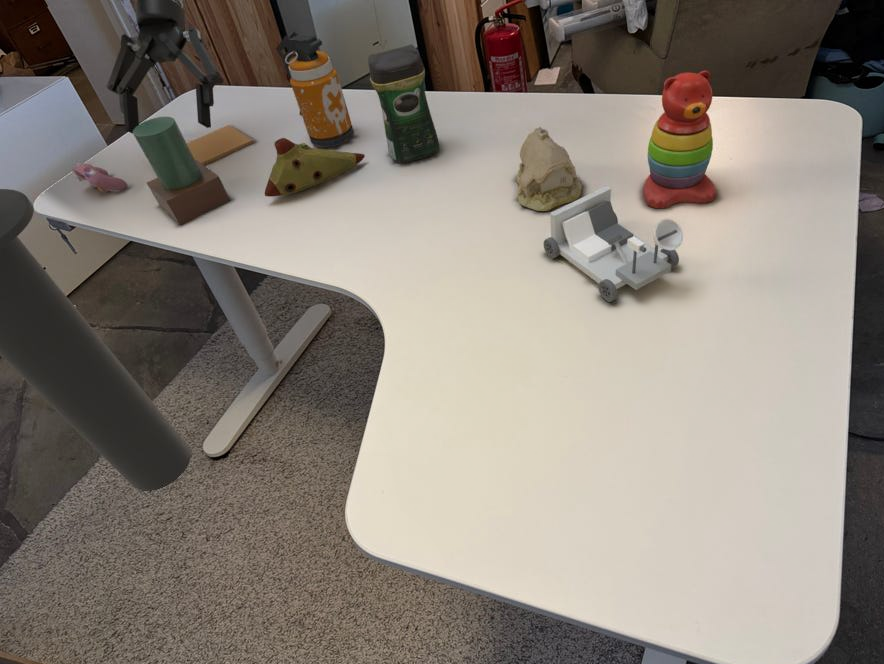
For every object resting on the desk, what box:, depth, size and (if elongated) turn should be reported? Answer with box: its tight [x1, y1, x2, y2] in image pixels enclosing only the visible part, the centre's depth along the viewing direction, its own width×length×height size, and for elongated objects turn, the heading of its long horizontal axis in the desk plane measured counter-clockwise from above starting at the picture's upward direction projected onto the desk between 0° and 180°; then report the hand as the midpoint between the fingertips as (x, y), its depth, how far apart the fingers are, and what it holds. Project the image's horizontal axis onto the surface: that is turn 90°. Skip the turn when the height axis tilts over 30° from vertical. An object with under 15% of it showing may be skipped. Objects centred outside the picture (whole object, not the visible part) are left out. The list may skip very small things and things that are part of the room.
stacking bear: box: [642, 70, 717, 209], centre depth 90 cm, size 11×10×18 cm
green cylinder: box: [132, 116, 201, 190], centre depth 105 cm, size 7×7×10 cm
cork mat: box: [186, 124, 254, 166], centre depth 128 cm, size 12×12×1 cm
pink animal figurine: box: [71, 162, 128, 193], centre depth 119 cm, size 10×5×7 cm, turn 50°
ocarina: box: [264, 137, 366, 198], centre depth 108 cm, size 20×5×10 cm, turn 125°
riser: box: [146, 160, 231, 226], centre depth 111 cm, size 10×10×5 cm
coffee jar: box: [367, 44, 440, 164], centre depth 109 cm, size 10×8×19 cm
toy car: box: [543, 185, 684, 303], centre depth 82 cm, size 18×10×12 cm
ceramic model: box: [516, 126, 583, 212], centre depth 98 cm, size 14×11×10 cm
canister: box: [275, 31, 355, 148], centre depth 117 cm, size 9×11×20 cm
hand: (168, 129), depth 105 cm, fingers open, 13 cm apart
